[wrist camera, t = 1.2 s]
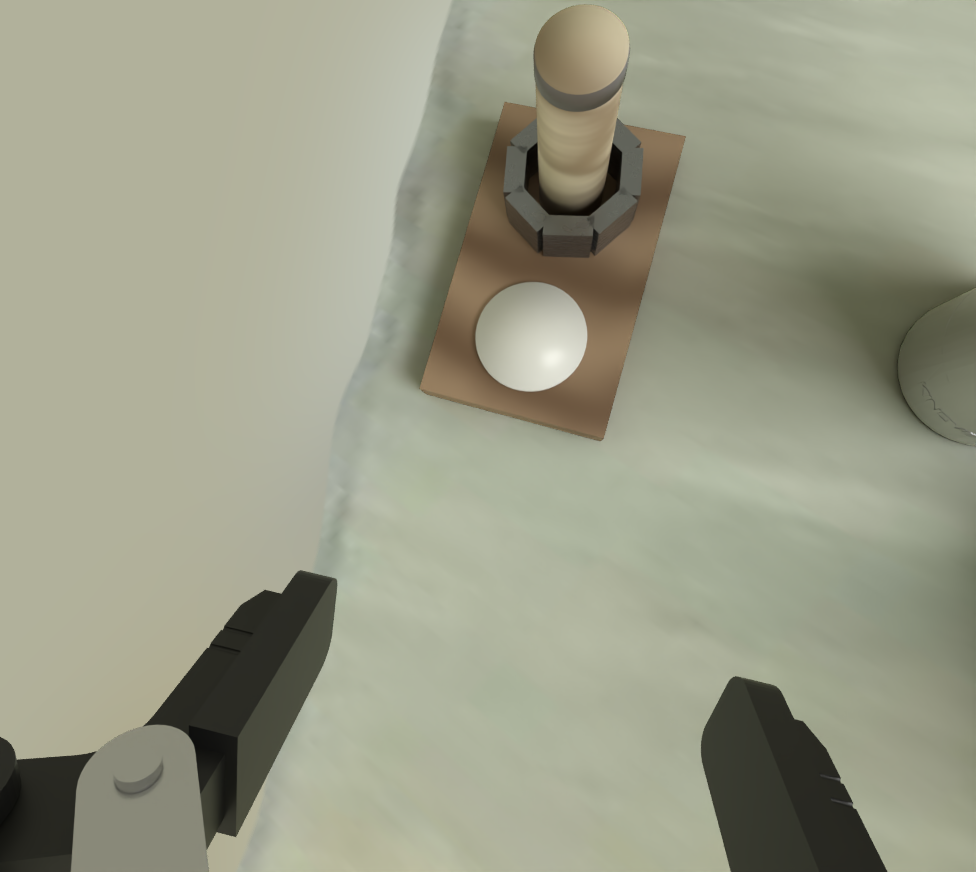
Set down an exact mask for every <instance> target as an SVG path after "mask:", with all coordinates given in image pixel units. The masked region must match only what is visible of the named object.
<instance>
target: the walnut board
mask: <svg viewBox="0 0 976 872" xmlns="http://www.w3.org/2000/svg"><path fill="white" fill-rule="evenodd" d="M536 118H537V109H536V108H534V107H528V106H523V105H518V104H513V103H507V102H505V103H504V106H503V110H502V113H501V116H500V120H499V123H498V127H497V130H496V133H495V137H494V140H493V143H492V147H491V150H490V153H489V157H488V160H487V163H486V167H485V170H484V174H483V177H482V180H481V184H480V187H479V190H478V194H477V197H476V200H475V204H474V207H473V210H472V214H471V217H470V221H469V224H468V227H467V231H466V234H465V237H464V241H463V244H462V247H461V251H460V254H459V257H458V261H457V264H456V268H455V271H454V274H453V278H452V281H451V284H450V288H449V291H448V294H447V298H446V301H445V304H444V308H443V311H442V315H441V318H440V321H439V325H438V328H437V331H436V335H435V338H434V341H433V345H432V348H431V351H430V355H429V358H428V362H427V365H426V368H425V372H424V375H423V378H422V382H421V385H420V388H419V389H421V390H422V391H423V392H424V393H426V394H428V395H432V396H436V397H439V398H443V399H447V400H450V401H454V402H458V403H461V404H465V405H469V406H472V407H476V408H480V409H484V410H487V411H491V412H495V413H498V414H502V415H506V416H509V417H513V418H517V419H520V420H524V421H528V422H532V423H535V424H539V425H543V426H546V427H550V428H554V429H557V430H561V431H565V432H568V433H572V434H576V435H579V436H583V437H587V438H591V439H594V440H598V441H601V440H602V439H603V438H604V435H605V431H606V428H607V424H608V420H609V417H610V413H611V409H612V406H613V402H614V398H615V395H616V391H617V387H618V384H619V380H620V376H621V373H622V369H623V365H624V361H625V358H626V354H627V350H628V347H629V343H630V339H631V336H632V332H633V328H634V325H635V321H636V317H637V314H638V310H639V306H640V303H641V299H642V295H643V292H644V288H645V284H646V281H647V277H648V273H649V270H650V266H651V262H652V259H653V255H654V251H655V248H656V244H657V240H658V237H659V233H660V229H661V226H662V222H663V218H664V215H665V211H666V207H667V204H668V200H669V196H670V193H671V189H672V185H673V182H674V178H675V174H676V171H677V167H678V163H679V160H680V156H681V152H682V149H683V145H684V141H685V138H686V136H681V135H676V134H671V133H665V132H660V131H655V130H649V129H644V128H639V127H634V126H628V125H625V126H626V127H627V128H628V129H629V130H630V131H631V132H632V133H633V134H634V135H635V136H636V137H637V138H638V139H639V140H640V141H641V146H640V148H644V151H643V166H642V181H641V196H640V199H639V202H638V205H637V209H636V212H635V215H634V218H633V221H631V225H630V227H628V228H627V229H626V230H625V231H624V232H623V233H621V234H620V235H619V236H618V237H617V238H615V239H614V240H613V241H612V242H611V243H610V244H608V245H607V246H606V247H605V248H604V249H603V250H601V251H600V252H599V253H598V254H597V255H596V256H594V254H593V253H592V252H591V251H590V256H589V258H575V257H548V256H543V250H542V251H541V252H540V253H537V252H536V251H535V250H534V249H533V248H532V247H531V246H530V245H529V244H528V243H527V241H526V240H525V239H524V238H523V237H522V236H521V235H520V234H519V233H518V232H517V231H516V230H515V228H514V227H513V226H512V225H511V224H510V223H509V220H508V217H507V213H506V207H505V200H504V194H503V189H504V178H505V167H506V156H507V146H511V143H510V140H512V139H513V138H514V137H515V136H516V135H517V134H519V133H520V132H521V131H522V130H523V129H524V128H526V127H527V126H528V125H529V124H530V123H531V122H532V121H534V120H535V119H536ZM615 192H616V180H615V179H614V178H613V177H612V176H611V175H610V174H609V173H608V172H607V176H606V181H605V187H604V192H603V198H602V203H601V206H602V205H603V204H604V203H605V202H606V201H608V200H609V199H610V198H611V197H612V196H613V195H615ZM528 193H529V194H530V195H531V196H532V197H533V198H534V199H535V200H536V202H537V203H538V204H539V205H540V197H539V171H538V172H537V173H536V174H534V175H533V176H532V177H531V178H530V179H529V183H528ZM601 206H600V207H601ZM525 282H540V283H546V284H550V285H552V286H555V287H557V288H559V289H561V290H563V291H564V292H565V293H567V294H568V295H569V296H570V297H571V298H572V299H573V300H574V301H575V302H576V303H577V304H578V306H579V308H580V309H581V311H582V313H583V316H584V318H585V322H586V326H587V344H586V349H585V352H584V355H583V358H582V360H581V362H580V364H579V365H578V367H577V368H576V370H575V371H574V372H573V373H572V374H571V375H570V376H569V377H568V378H567V379H566V380H564V381H563V382H562V383H560V384H558V385H556V386H554V387H552V388H549V389H546V390H542V391H536V392H524V391H518V390H514V389H511V388H509V387H506V386H504V385H503V384H501V383H499V382H498V381H497V380H495V379H494V378H493V377H492V376H491V375H490V374H489V373H488V372H487V370H486V369H485V368H484V366H483V364H482V362H481V360H480V358H479V355H478V352H477V348H476V340H475V338H476V327H477V323H478V320H479V317H480V315H481V313H482V311H483V310H484V308H485V306H486V305H487V304H488V303H489V301H490V300H491V299H492V298H493V297H494V296H496V295H497V294H498V293H499V292H501V291H503V290H504V289H506V288H508V287H510V286H513V285H516V284H520V283H525Z"/></svg>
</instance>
